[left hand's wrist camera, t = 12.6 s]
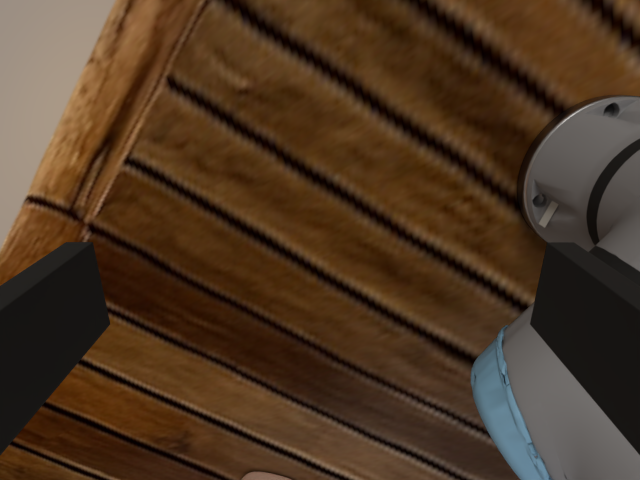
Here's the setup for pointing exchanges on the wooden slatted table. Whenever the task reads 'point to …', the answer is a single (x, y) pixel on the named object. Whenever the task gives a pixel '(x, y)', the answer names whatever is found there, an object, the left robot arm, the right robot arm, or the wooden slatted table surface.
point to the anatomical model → (263, 476)
